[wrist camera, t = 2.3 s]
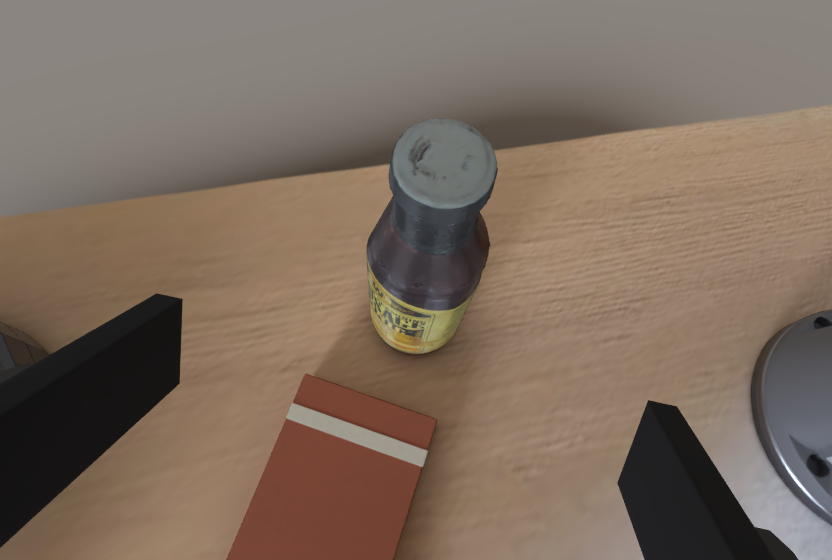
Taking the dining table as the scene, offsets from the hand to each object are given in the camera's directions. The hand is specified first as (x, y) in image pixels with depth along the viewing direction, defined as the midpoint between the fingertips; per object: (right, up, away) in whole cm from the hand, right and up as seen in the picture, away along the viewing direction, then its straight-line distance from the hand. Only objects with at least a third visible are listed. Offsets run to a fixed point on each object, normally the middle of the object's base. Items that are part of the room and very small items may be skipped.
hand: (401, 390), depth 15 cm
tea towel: (-5, -12, +18) cm, 22 cm away
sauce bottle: (+1, 0, +23) cm, 24 cm away
